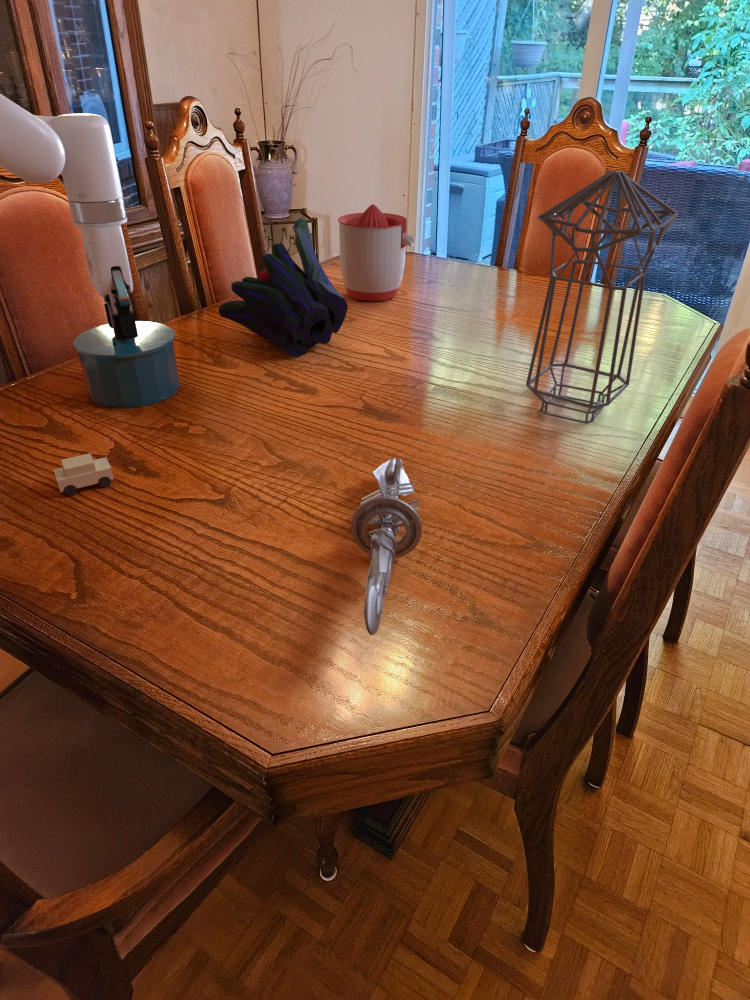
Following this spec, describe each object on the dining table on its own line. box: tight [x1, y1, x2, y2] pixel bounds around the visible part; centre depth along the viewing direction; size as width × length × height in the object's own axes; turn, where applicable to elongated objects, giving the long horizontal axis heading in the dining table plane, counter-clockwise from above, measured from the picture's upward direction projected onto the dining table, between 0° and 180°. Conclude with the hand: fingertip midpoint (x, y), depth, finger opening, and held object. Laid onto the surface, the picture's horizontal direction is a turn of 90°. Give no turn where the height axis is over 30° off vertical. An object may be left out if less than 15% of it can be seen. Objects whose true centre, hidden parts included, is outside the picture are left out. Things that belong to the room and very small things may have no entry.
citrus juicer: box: [337, 203, 416, 302], centre depth 152 cm, size 16×17×20 cm
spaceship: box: [350, 457, 423, 636], centre depth 73 cm, size 8×35×8 cm
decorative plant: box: [218, 217, 349, 358], centre depth 130 cm, size 21×26×30 cm
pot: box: [77, 341, 181, 409], centre depth 110 cm, size 15×15×8 cm
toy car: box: [53, 452, 115, 497], centre depth 86 cm, size 7×3×4 cm, turn 119°
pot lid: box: [72, 301, 176, 359], centre depth 106 cm, size 16×16×7 cm
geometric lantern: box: [525, 169, 679, 425], centre depth 97 cm, size 16×16×35 cm
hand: (123, 331), depth 107 cm, fingers open, 5 cm apart
